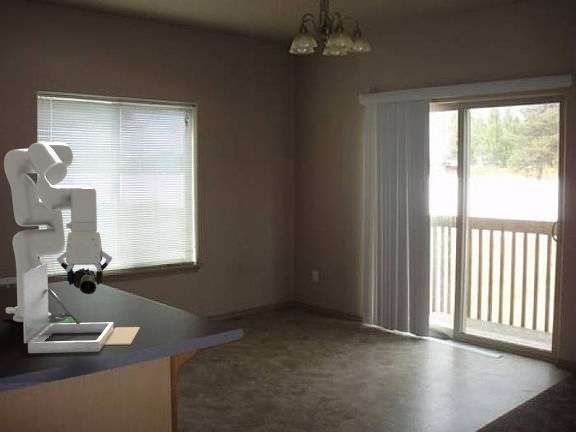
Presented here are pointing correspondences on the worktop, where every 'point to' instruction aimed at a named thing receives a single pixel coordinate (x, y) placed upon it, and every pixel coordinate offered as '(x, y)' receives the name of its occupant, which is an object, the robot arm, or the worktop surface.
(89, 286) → the dark piece
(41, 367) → the worktop surface
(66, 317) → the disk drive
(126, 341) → the pad
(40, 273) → the case
